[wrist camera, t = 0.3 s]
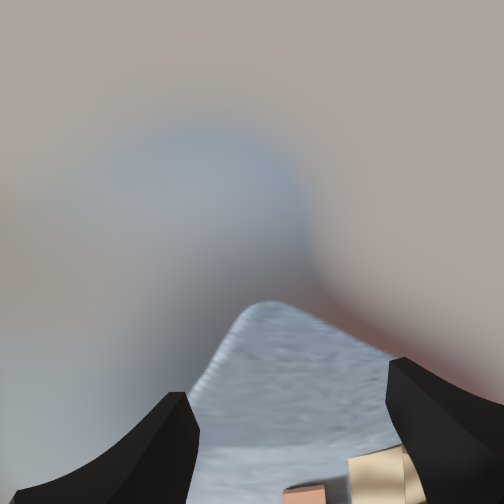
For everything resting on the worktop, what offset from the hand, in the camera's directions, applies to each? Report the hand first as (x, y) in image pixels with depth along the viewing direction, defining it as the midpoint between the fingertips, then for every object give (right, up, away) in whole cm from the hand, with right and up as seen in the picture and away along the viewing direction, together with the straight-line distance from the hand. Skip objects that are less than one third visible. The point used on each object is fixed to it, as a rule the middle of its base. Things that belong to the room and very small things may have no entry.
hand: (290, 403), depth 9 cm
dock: (+19, -25, +17) cm, 36 cm away
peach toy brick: (+5, -27, +18) cm, 33 cm away
